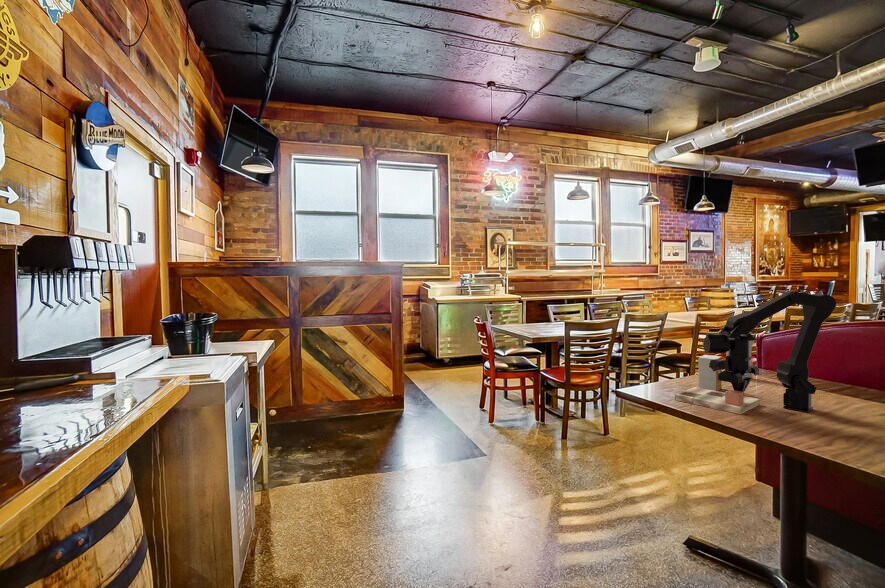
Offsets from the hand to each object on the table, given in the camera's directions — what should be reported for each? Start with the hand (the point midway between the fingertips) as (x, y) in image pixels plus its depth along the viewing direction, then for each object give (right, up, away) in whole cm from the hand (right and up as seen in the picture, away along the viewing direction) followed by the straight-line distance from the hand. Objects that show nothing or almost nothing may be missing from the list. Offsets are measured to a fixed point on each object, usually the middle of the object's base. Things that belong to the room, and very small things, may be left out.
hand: (738, 398), depth 148 cm
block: (-3, -1, -2) cm, 4 cm away
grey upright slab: (+28, -1, +40) cm, 49 cm away
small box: (+4, -2, +23) cm, 23 cm away
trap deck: (-4, -3, +6) cm, 8 cm away
